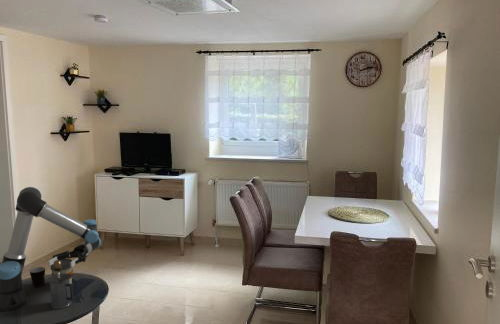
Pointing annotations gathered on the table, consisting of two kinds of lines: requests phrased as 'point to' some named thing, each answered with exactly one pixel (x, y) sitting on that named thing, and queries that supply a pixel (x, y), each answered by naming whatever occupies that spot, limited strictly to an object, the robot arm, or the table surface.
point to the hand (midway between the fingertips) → (59, 264)
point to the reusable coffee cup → (64, 268)
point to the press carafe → (60, 290)
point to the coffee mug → (38, 276)
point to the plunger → (57, 267)
